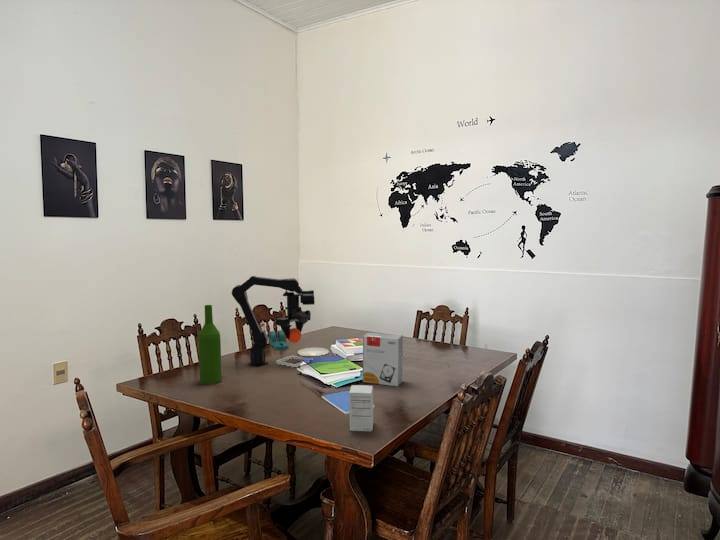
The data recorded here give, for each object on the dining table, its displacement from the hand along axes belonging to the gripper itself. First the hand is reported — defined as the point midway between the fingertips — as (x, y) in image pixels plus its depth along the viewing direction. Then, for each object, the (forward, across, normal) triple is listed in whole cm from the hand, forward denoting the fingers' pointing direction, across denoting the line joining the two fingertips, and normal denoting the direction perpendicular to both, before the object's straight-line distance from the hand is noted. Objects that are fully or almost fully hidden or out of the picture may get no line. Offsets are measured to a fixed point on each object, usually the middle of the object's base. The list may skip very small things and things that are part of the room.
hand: (293, 337), depth 229 cm
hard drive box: (+13, 0, -51) cm, 53 cm away
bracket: (+13, +19, +29) cm, 37 cm away
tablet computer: (+13, -28, -53) cm, 61 cm away
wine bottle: (+13, -41, +10) cm, 44 cm away
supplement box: (+13, -42, -70) cm, 83 cm away
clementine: (+3, 0, 0) cm, 3 cm away
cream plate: (+12, +18, +4) cm, 23 cm away
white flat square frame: (+12, -1, 0) cm, 12 cm away
